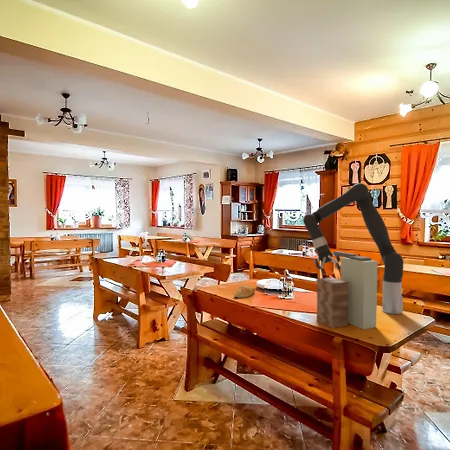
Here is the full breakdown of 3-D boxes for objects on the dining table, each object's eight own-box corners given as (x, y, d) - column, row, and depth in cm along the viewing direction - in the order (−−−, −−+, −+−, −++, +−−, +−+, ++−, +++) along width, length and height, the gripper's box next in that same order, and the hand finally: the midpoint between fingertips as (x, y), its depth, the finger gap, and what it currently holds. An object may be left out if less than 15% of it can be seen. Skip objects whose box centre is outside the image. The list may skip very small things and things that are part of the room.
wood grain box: (316, 320, 169) (317, 278, 168) (331, 318, 172) (331, 277, 172) (332, 328, 158) (333, 283, 157) (347, 325, 161) (348, 282, 160)
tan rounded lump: (237, 304, 209) (242, 294, 207) (227, 295, 215) (231, 285, 212) (257, 297, 225) (261, 288, 223) (246, 288, 231) (251, 279, 228)
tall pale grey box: (340, 319, 171) (341, 257, 170) (352, 317, 174) (353, 256, 173) (363, 329, 156) (364, 262, 155) (376, 327, 159) (377, 261, 158)
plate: (258, 277, 256) (293, 278, 251) (258, 285, 256) (293, 287, 250) (254, 280, 229) (293, 282, 223) (254, 290, 228) (293, 292, 223)
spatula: (331, 255, 179) (331, 251, 179) (340, 254, 181) (340, 251, 181) (361, 261, 158) (361, 256, 158) (371, 260, 160) (371, 256, 160)
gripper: (330, 243, 197) (341, 268, 194) (308, 250, 196) (318, 276, 193) (334, 240, 190) (345, 267, 187) (311, 248, 189) (322, 275, 186)
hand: (332, 272), depth 190 cm, fingers open, 8 cm apart
